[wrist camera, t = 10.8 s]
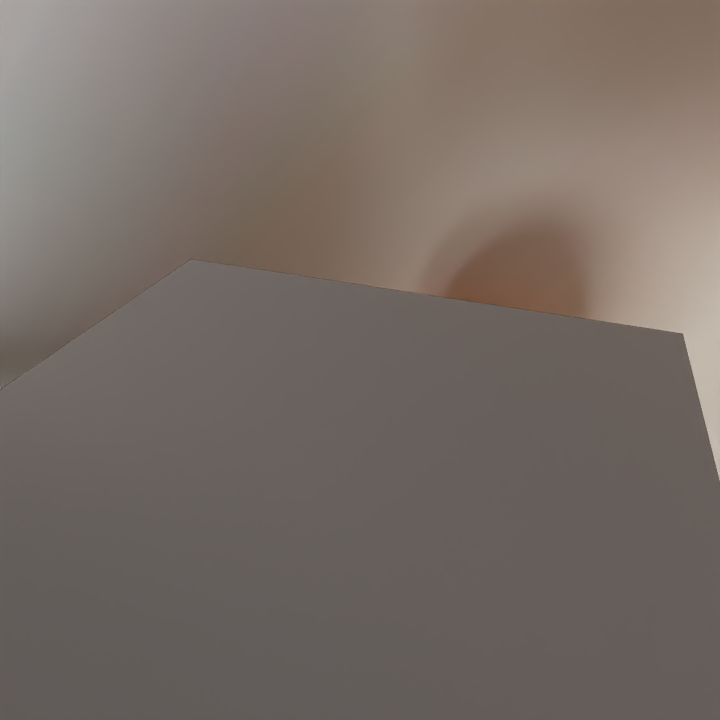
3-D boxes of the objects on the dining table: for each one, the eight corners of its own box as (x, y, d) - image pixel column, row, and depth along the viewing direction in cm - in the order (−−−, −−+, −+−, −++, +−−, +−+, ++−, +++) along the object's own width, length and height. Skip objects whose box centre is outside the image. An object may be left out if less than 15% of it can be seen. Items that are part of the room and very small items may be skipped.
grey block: (231, 568, 15) (-120, 1132, 7) (190, 259, 11) (-655, 838, 3) (573, 666, 13) (545, 1558, 6) (683, 333, 9) (1107, 2023, 1)
